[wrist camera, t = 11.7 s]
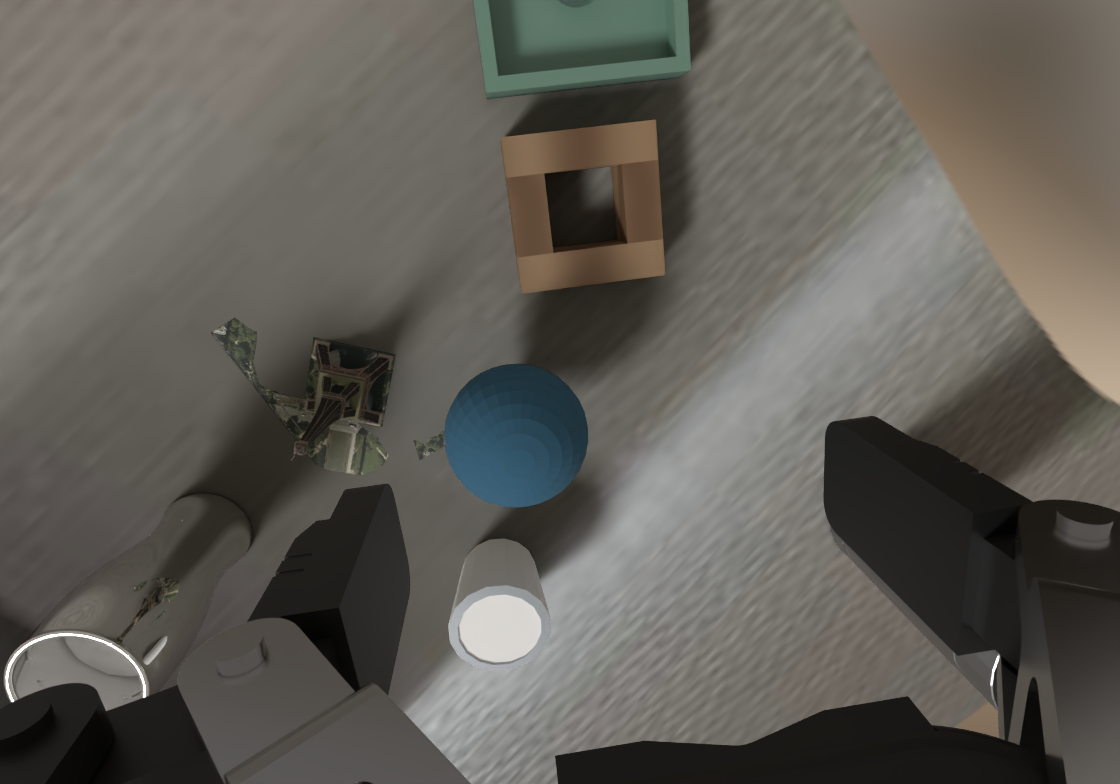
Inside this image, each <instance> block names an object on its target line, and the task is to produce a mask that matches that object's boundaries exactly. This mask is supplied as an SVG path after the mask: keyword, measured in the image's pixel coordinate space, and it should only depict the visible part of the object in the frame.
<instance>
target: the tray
mask: <svg viewBox="0 0 1120 784" xmlns="http://www.w3.org/2000/svg"><path fill="white" fill-rule="evenodd" d="M473 3H474V10H475V18H476V25H477V32H478V39H479V47H480V54H481V61H482V68H483V76H484V83H485V90H486V98H487V99H491V98H500V97H509V96H518V95H527V94H536V93H545V92H554V91H563V90H572V89H581V88H590V87H599V86H608V85H617V84H626V83H635V82H644V81H653V80H662V79H671V78H679V77H681V76H682V75H684V74H686V73H687V72H689V71H691V63H690V40H689V17H688V0H594V1H592V2H591V3H590V4H588V5H586V6H583V7H579V8H573V7H568V6H566V5H563V4H562V3H560V2H559V1H558V0H473Z"/></svg>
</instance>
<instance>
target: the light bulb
mask: <svg viewBox="0 0 1120 784" xmlns="http://www.w3.org/2000/svg"><path fill="white" fill-rule="evenodd" d="M444 436H445V448H446V454H447V457H448V460H449V463H450V465H451V467H452V469H453V471H454V473H455V474H456V476H457V477H458V479H459V480H460V481H461V482H462V483H463V485H464V486H465V487H466V488H467V489H468V490H469V491H471V492H472V493H473V494H474V495H476V496H477V497H479V498H481V499H483V500H485V501H487V502H489V503H492V504H496V505H499V506H504V507H514V508H515V507H528V506H532V505H536V504H540V503H542V502H544V501H547V500H549V499H551V498H553V497H554V496H556V495H557V494H559V493H560V492H561V491H563V490H564V489H565V488H566V487H567V486H568V485H569V484H570V483H571V482H572V480H573V479H574V477H575V476H576V474H577V473H578V471H579V469H580V467H581V465H582V462H583V460H584V458H585V455H586V450H587V445H588V427H587V421H586V417H585V413H584V410H583V408H582V406H581V403H580V401H579V399H578V398H577V397H576V395H575V394H574V393H573V391H572V390H571V389H570V387H569V386H568V385H567V384H566V383H564V382H563V381H562V380H561V379H560V378H559V377H557V376H556V375H554V374H552V373H551V372H549V371H547V370H545V369H542V368H539V367H536V366H532V365H525V364H507V365H502V366H498V367H494V368H491V369H489V370H487V371H485V372H482V373H480V374H479V375H477V376H476V377H475V378H473V379H472V380H470V381H469V382H468V383H467V384H466V385H465V386H464V387H463V388H462V389H461V391H460V392H459V393H458V395H457V397H456V398H455V400H454V402H453V403H452V405H451V407H450V410H449V412H448V415H447V418H446V423H445V431H444Z"/></svg>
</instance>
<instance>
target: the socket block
mask: <svg viewBox="0 0 1120 784" xmlns="http://www.w3.org/2000/svg"><path fill="white" fill-rule="evenodd" d="M501 148H502V155H503V163H504V170H505V178H506V185H507V193H508V200H509V208H510V215H511V223H512V230H513V237H514V245H515V252H516V260H517V267H518V275H519V282H520V288H521V291H522V294H524V293H532V292H539V291H547V290H555V289H562V288H570V287H578V286H585V285H593V284H601V283H608V282H616V281H624V280H632V279H639V278H647V277H655V276H662V275H665V262H664V246H663V229H662V213H661V196H660V180H659V163H658V147H657V130H656V120H647V121H638V122H630V123H621V124H612V125H604V126H595V127H586V128H578V129H569V130H560V131H551V132H543V133H534V134H525V135H517V136H508V137H501ZM609 166H611V171H612V183H613V195H614V207H615V219H616V231H617V240H609V241H601V242H593V243H585V244H577V245H569V246H561V247H553V246H552V237H551V228H550V220H549V211H548V202H547V194H546V185H545V176H544V174H551V173H559V172H567V171H576V170H584V169H593V168H601V167H609Z"/></svg>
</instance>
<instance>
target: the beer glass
mask: <svg viewBox="0 0 1120 784" xmlns="http://www.w3.org/2000/svg"><path fill="white" fill-rule="evenodd" d="M251 538H252V531H251V526H250V523H249V520H248V518H247V517H246V515H245V514H244V512H243V511H242V510H241V509H240V508H239V507H238V506H237V505H236V504H234V503H233V502H231V501H230V500H228V499H226V498H223V497H221V496H218V495H214V494H207V493H198V494H192V495H188V496H185V497H183V498H181V499H179V500H177V501H175V502H174V503H173V504H172V505H170V507H169V508H168V509H167V510H166V512H165V513H164V515H163V517H162V519H161V521H160V523H159V525H158V526H157V527H156V529H155V530H154V531H153V532H152V533H151V534H149V536H148V537H147V538H145V539H144V540H142V541H141V542H139V543H138V544H136V545H135V546H133V547H131V548H130V549H128V550H126V551H125V552H123V553H122V554H120V555H118V556H117V557H115V558H114V559H112V560H110V561H109V562H107V563H106V564H104V565H103V566H102V567H100V568H99V569H97V570H96V571H95V572H93V573H92V574H90V575H89V576H88V577H86V578H85V579H84V580H83V581H82V582H81V583H80V584H78V585H77V586H76V587H75V588H74V589H73V590H72V591H70V592H69V593H68V594H67V595H66V596H65V597H64V598H63V599H62V600H61V601H60V602H59V603H58V604H57V605H56V606H55V607H54V608H53V609H52V611H51V612H50V613H49V614H48V615H47V616H46V617H45V618H44V619H43V621H42V622H41V623H40V624H39V625H38V626H37V627H36V629H35V630H34V631H33V632H32V633H31V634H30V636H29V637H28V638H27V639H26V640H25V641H24V643H23V644H22V645H21V646H19V647H18V648H17V649H16V650H15V651H14V652H13V654H12V655H11V657H10V658H9V660H8V662H7V664H6V667H5V671H4V686H5V690H6V693H7V696H8V698H9V700H10V702H11V703H12V702H14V701H16V700H18V699H20V698H22V697H24V696H27V695H29V694H32V693H34V692H37V691H39V690H43V689H46V688H49V687H52V686H57V685H61V684H68V683H84V684H88V685H91V686H93V687H94V688H95V689H96V690H97V691H98V694H99V696H100V698H101V701H102V703H103V705H104V708H105V710H106V711H108V710H111V709H114V708H116V707H119V706H122V705H125V704H128V703H130V702H133V701H136V700H139V699H141V698H144V697H147V696H150V695H153V694H155V693H158V692H159V691H160V690H161V688H162V687H163V686H164V685H165V683H166V682H167V681H168V680H169V678H170V677H171V676H172V674H173V673H174V671H175V670H176V669H177V667H178V666H179V664H180V663H181V662H182V660H183V659H184V657H185V656H186V654H187V652H188V651H189V649H190V647H191V646H192V644H193V643H194V641H195V639H196V637H197V635H198V633H199V631H200V629H201V626H202V624H203V622H204V620H205V617H206V615H207V612H208V609H209V607H210V604H211V602H212V599H213V596H214V593H215V591H216V588H217V586H218V583H219V581H220V580H221V578H222V576H223V575H224V574H225V573H226V572H227V571H228V570H229V569H230V568H231V567H232V566H234V565H235V564H236V563H237V562H238V561H239V560H240V559H241V558H242V557H243V556H244V555H245V554H246V552H247V550H248V549H249V546H250V543H251Z"/></svg>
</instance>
